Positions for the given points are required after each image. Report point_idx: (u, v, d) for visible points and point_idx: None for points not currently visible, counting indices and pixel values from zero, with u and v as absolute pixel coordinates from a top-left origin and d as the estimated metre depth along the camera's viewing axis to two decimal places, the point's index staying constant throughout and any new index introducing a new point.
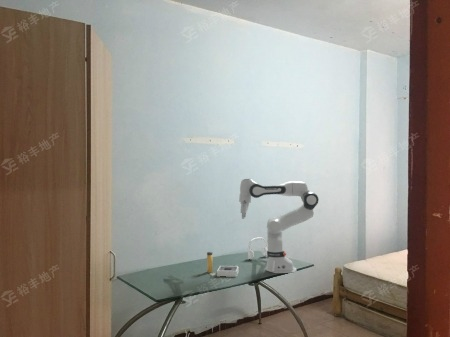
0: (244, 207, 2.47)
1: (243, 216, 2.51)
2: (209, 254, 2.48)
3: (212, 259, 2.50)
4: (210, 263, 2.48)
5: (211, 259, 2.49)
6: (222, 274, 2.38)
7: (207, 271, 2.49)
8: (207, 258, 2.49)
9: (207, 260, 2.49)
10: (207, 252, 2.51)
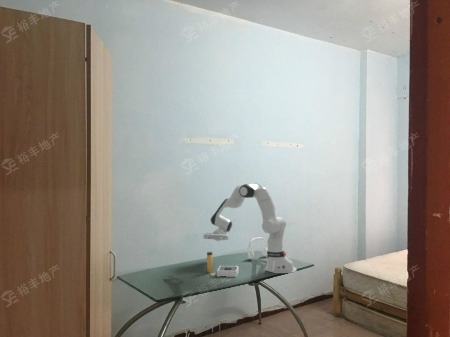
0: None
1: None
2: (209, 254, 2.48)
3: (212, 259, 2.50)
4: (210, 263, 2.48)
5: (211, 259, 2.49)
6: (222, 274, 2.38)
7: (207, 271, 2.49)
8: (207, 258, 2.49)
9: (207, 260, 2.49)
10: (207, 252, 2.51)
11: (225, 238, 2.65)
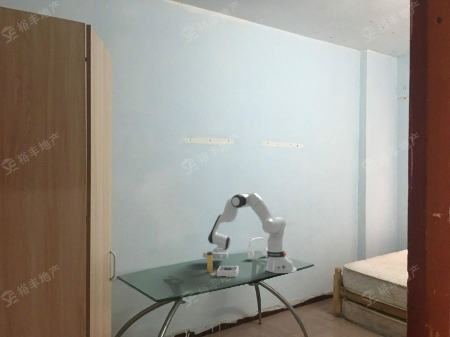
0: None
1: (206, 255, 2.62)
2: (209, 254, 2.48)
3: (212, 259, 2.50)
4: (210, 263, 2.48)
5: (211, 259, 2.49)
6: (222, 274, 2.38)
7: (207, 271, 2.49)
8: (207, 258, 2.49)
9: (207, 260, 2.49)
10: (207, 252, 2.51)
11: (225, 256, 2.61)
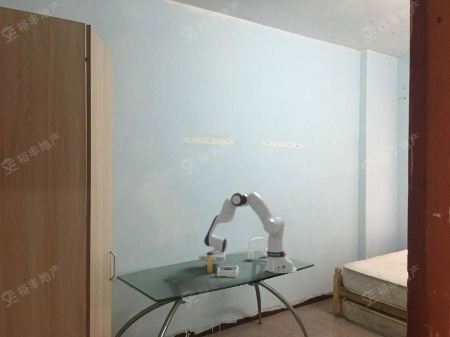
0: None
1: None
2: (209, 254, 2.48)
3: None
4: (210, 263, 2.48)
5: (211, 259, 2.49)
6: (222, 274, 2.38)
7: (207, 271, 2.49)
8: (207, 258, 2.49)
9: (207, 260, 2.49)
10: (207, 252, 2.51)
11: (221, 260, 2.52)
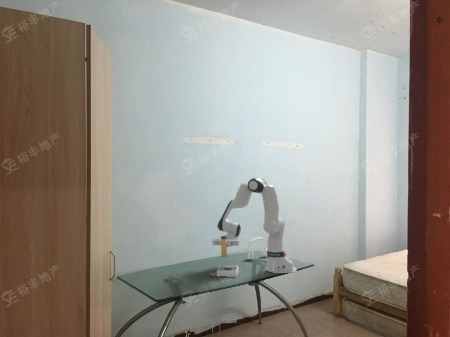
0: None
1: None
2: (223, 238, 2.44)
3: None
4: (224, 247, 2.44)
5: (225, 243, 2.44)
6: (222, 274, 2.38)
7: (221, 255, 2.45)
8: (221, 242, 2.45)
9: (221, 244, 2.45)
10: (221, 236, 2.46)
11: (236, 244, 2.48)
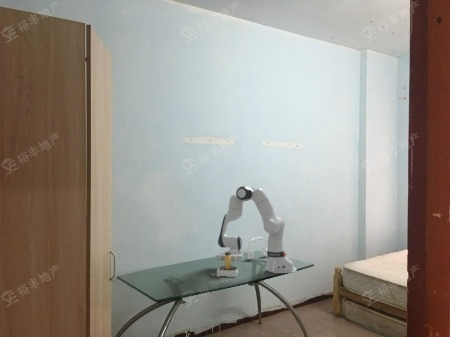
0: None
1: None
2: (227, 254, 2.43)
3: (230, 259, 2.44)
4: (228, 263, 2.43)
5: (229, 259, 2.43)
6: (222, 274, 2.38)
7: None
8: (225, 258, 2.43)
9: (225, 260, 2.43)
10: (225, 252, 2.45)
11: (239, 259, 2.46)
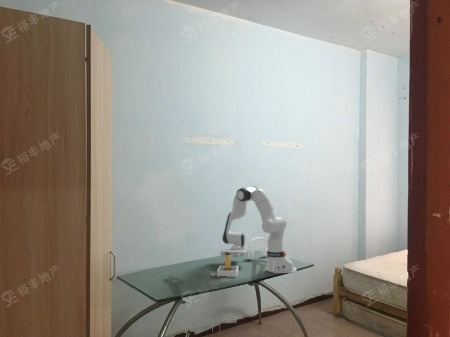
0: None
1: (224, 254, 2.59)
2: (227, 254, 2.43)
3: (230, 259, 2.44)
4: (228, 263, 2.43)
5: (229, 259, 2.43)
6: (222, 274, 2.38)
7: None
8: (225, 258, 2.44)
9: (225, 260, 2.44)
10: (225, 252, 2.45)
11: (243, 255, 2.59)
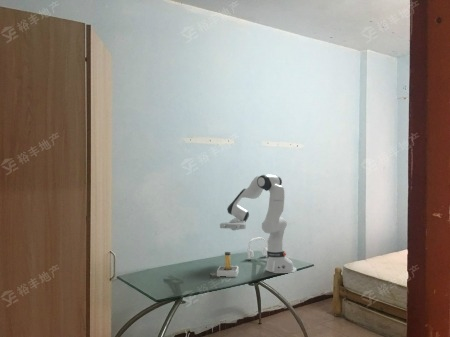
0: None
1: (224, 226, 2.60)
2: (227, 254, 2.43)
3: (230, 259, 2.44)
4: (228, 263, 2.43)
5: (229, 259, 2.43)
6: (222, 274, 2.38)
7: None
8: (225, 258, 2.44)
9: (225, 260, 2.44)
10: (225, 252, 2.45)
11: (242, 227, 2.59)
